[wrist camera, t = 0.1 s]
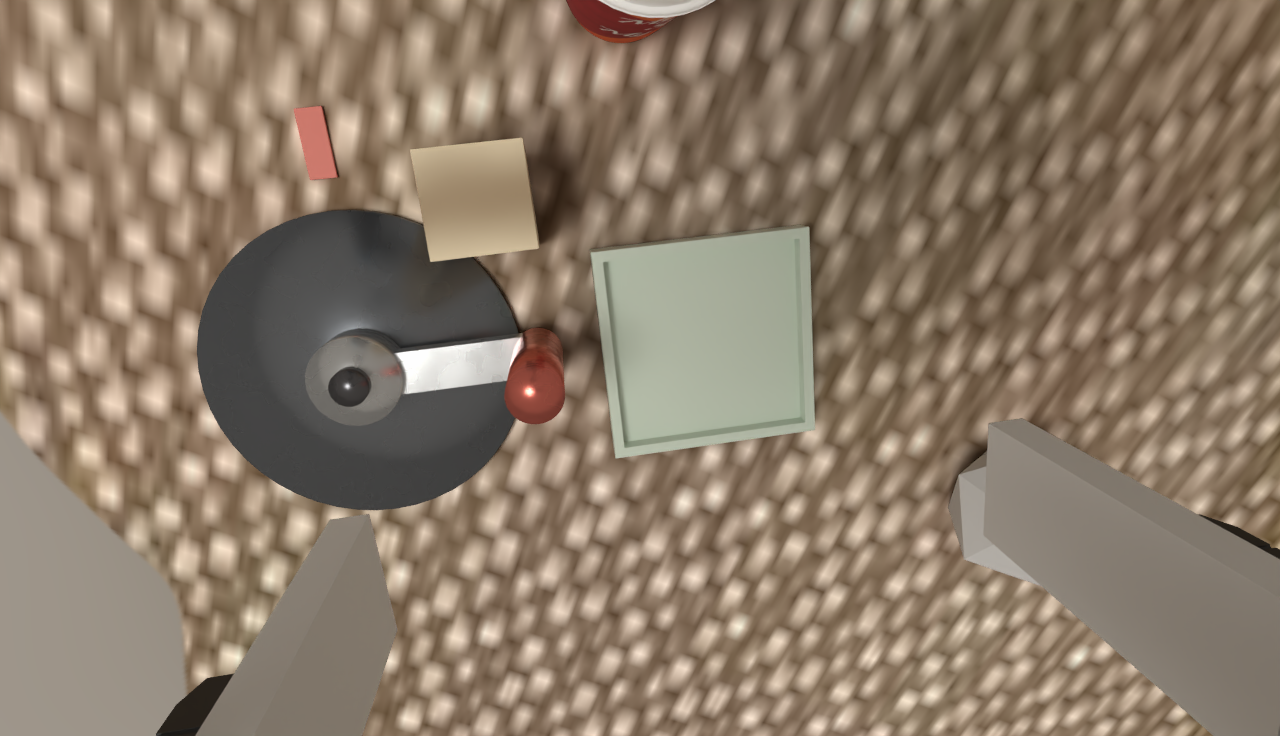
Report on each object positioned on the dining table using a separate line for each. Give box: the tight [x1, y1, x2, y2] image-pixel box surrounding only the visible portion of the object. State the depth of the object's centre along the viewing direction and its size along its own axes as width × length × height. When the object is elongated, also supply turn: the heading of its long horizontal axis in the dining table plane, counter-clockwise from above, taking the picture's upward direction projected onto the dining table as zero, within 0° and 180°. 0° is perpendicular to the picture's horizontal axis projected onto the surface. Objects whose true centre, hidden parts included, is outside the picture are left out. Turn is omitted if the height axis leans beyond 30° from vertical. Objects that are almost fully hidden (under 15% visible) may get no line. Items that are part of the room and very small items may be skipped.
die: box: [948, 451, 1041, 586], centre depth 44 cm, size 8×9×10 cm
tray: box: [590, 225, 815, 458], centre depth 42 cm, size 13×13×2 cm
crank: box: [305, 328, 565, 426], centre depth 36 cm, size 14×5×9 cm, turn 96°
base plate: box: [197, 210, 519, 510], centre depth 39 cm, size 18×18×4 cm
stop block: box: [410, 138, 540, 262], centre depth 35 cm, size 5×5×7 cm
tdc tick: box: [294, 106, 338, 180], centre depth 37 cm, size 4×1×1 cm, turn 6°
